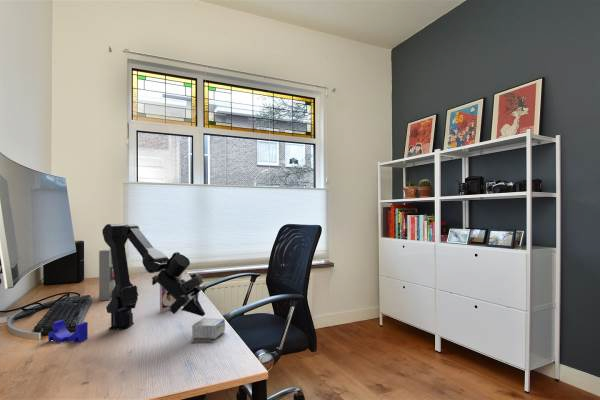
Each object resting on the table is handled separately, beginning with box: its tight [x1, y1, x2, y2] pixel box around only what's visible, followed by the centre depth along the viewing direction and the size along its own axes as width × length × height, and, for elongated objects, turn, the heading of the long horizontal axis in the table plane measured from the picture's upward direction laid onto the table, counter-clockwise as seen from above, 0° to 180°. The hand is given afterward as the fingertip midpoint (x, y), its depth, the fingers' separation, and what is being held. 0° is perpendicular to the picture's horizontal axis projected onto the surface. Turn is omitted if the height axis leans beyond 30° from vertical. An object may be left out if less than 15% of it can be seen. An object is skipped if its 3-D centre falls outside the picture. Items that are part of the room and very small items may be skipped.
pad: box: [191, 338, 213, 344], centre depth 117 cm, size 6×14×1 cm, turn 0°
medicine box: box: [191, 317, 226, 340], centre depth 117 cm, size 8×4×9 cm
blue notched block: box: [47, 319, 89, 343], centre depth 115 cm, size 12×4×6 cm, turn 74°
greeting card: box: [159, 273, 183, 313], centre depth 152 cm, size 11×7×15 cm, turn 148°
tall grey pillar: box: [98, 248, 115, 301], centre depth 176 cm, size 14×6×25 cm, turn 179°
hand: (204, 315), depth 118 cm, fingers closed
